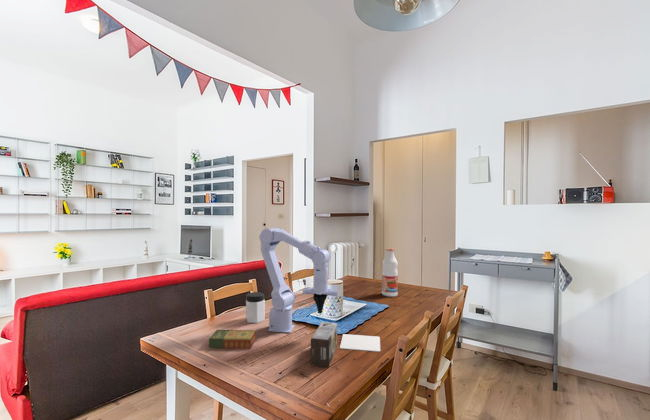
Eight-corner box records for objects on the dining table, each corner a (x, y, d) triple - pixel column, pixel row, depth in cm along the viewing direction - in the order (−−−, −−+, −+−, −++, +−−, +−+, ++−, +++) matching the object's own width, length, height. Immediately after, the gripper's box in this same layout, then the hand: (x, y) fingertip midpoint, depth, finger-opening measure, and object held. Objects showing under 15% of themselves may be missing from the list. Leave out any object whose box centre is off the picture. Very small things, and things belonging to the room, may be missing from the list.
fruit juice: (389, 291, 197) (389, 247, 197) (400, 295, 190) (401, 248, 189) (378, 294, 192) (379, 248, 192) (390, 297, 184) (390, 250, 184)
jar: (244, 317, 149) (244, 292, 149) (261, 315, 152) (262, 291, 152) (247, 324, 141) (247, 297, 141) (265, 322, 144) (266, 295, 144)
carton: (250, 349, 117) (250, 338, 117) (208, 349, 117) (208, 337, 117) (256, 340, 125) (256, 329, 125) (216, 339, 126) (216, 328, 126)
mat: (339, 348, 118) (339, 347, 118) (343, 334, 131) (343, 334, 131) (380, 351, 115) (380, 351, 115) (379, 337, 128) (379, 336, 128)
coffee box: (337, 346, 120) (329, 368, 104) (321, 344, 121) (310, 365, 105) (337, 322, 119) (329, 340, 104) (321, 321, 121) (310, 338, 105)
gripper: (301, 280, 125) (300, 314, 126) (337, 282, 123) (336, 317, 123) (305, 276, 132) (304, 308, 132) (339, 278, 130) (338, 311, 130)
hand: (320, 312), depth 128 cm, fingers closed
